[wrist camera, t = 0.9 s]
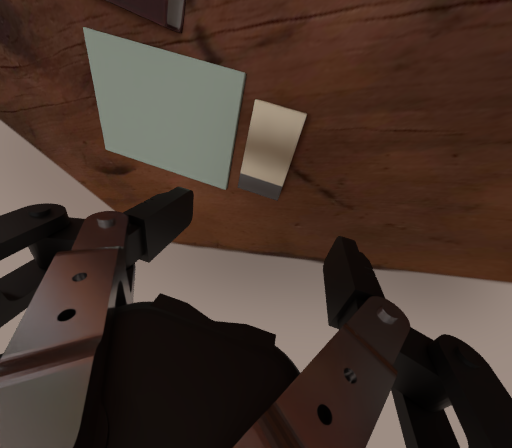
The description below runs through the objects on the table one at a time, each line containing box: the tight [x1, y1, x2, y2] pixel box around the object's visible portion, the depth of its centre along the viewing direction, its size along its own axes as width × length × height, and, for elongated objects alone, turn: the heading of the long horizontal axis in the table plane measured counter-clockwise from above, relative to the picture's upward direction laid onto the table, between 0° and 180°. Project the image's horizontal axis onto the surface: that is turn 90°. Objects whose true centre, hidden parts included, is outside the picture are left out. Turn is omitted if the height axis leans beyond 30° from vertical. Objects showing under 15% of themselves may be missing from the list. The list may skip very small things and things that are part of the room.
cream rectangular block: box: [238, 99, 307, 201], centre depth 24 cm, size 10×6×3 cm, turn 165°
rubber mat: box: [83, 27, 246, 190], centre depth 26 cm, size 14×20×1 cm
